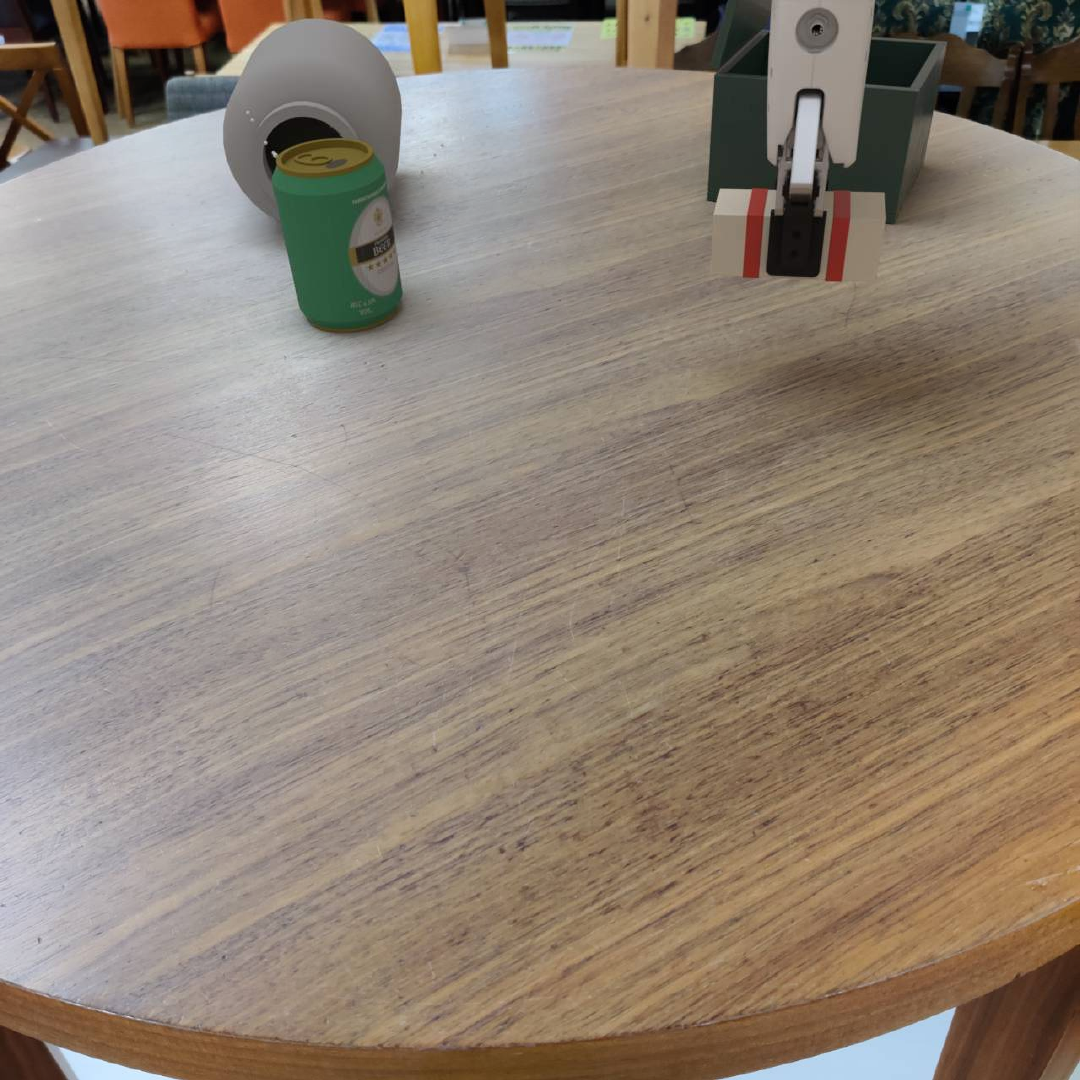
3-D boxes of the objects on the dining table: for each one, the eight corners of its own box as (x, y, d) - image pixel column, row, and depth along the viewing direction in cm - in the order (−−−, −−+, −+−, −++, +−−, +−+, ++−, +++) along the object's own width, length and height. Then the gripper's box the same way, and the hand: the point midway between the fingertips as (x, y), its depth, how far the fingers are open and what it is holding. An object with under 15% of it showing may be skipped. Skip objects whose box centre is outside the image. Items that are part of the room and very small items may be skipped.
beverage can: (363, 343, 75) (334, 183, 67) (280, 322, 78) (243, 166, 70) (424, 297, 80) (403, 143, 72) (344, 279, 83) (316, 130, 76)
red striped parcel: (874, 254, 65) (884, 191, 62) (875, 283, 62) (886, 218, 59) (717, 248, 67) (719, 187, 64) (710, 276, 64) (713, 213, 61)
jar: (472, 118, 98) (426, 178, 77) (387, 236, 105) (323, 320, 83) (308, -23, 93) (210, -1, 71) (229, 110, 99) (119, 167, 78)
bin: (923, 164, 96) (947, 41, 89) (894, 224, 86) (918, 91, 79) (752, 146, 102) (762, 29, 95) (706, 200, 92) (713, 74, 85)
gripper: (910, -42, 45) (855, 325, 57) (899, -109, 57) (856, 205, 69) (740, -38, 47) (721, 318, 59) (764, -104, 59) (744, 202, 71)
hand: (794, 254), depth 64 cm, fingers closed on red striped parcel, 4 cm apart
